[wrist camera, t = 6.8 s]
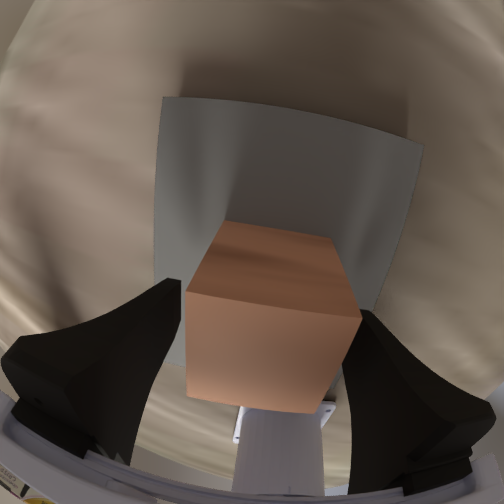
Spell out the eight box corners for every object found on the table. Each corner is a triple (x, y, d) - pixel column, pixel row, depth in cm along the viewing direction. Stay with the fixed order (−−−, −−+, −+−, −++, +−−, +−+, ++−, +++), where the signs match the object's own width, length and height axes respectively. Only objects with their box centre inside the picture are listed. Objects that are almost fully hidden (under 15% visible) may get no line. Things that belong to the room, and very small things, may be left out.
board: (330, 368, 19) (333, 388, 17) (169, 342, 19) (160, 361, 18) (407, 142, 12) (424, 145, 10) (177, 99, 13) (162, 96, 11)
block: (306, 322, 15) (314, 413, 10) (215, 307, 15) (186, 395, 10) (330, 238, 13) (362, 318, 7) (224, 220, 13) (185, 291, 8)
